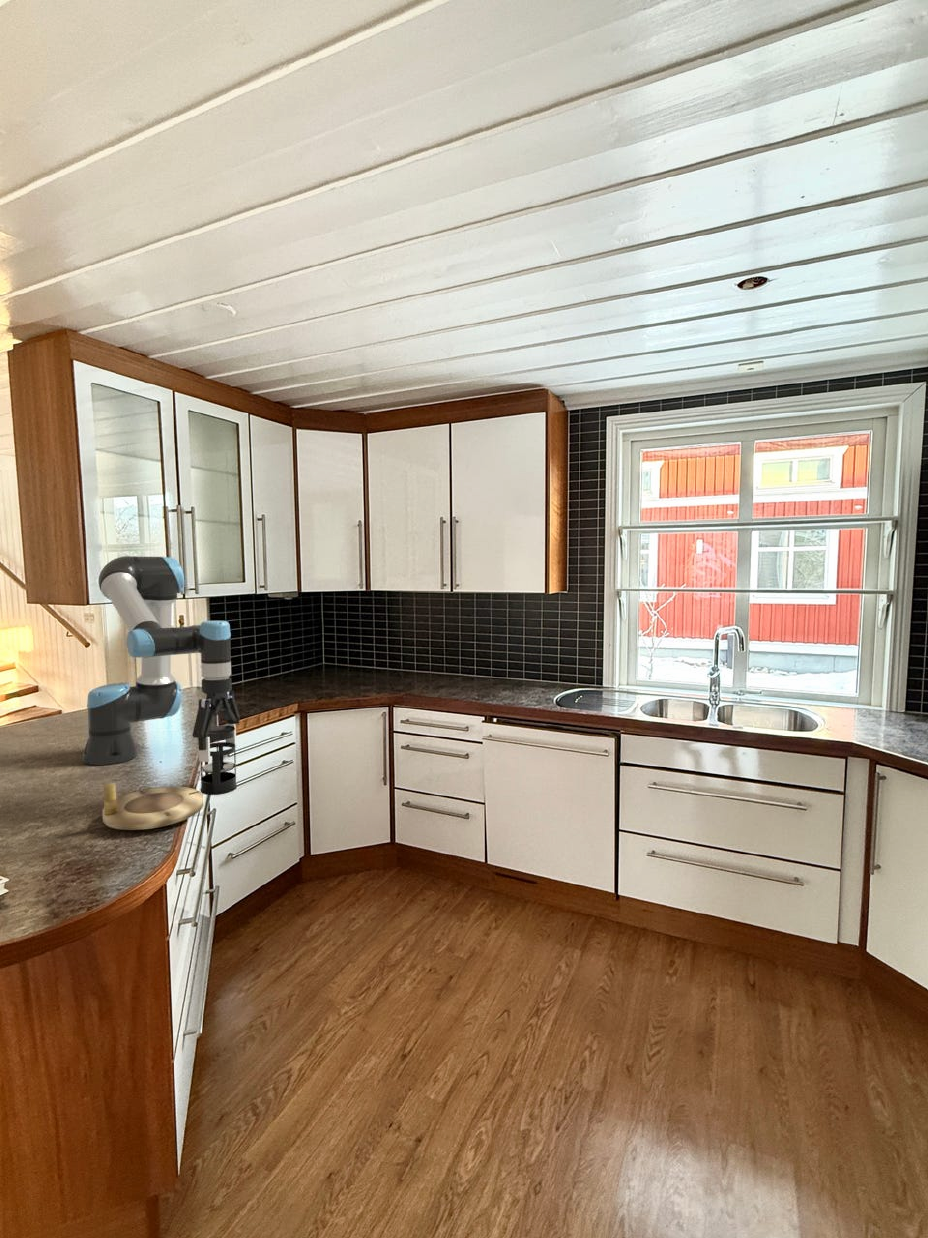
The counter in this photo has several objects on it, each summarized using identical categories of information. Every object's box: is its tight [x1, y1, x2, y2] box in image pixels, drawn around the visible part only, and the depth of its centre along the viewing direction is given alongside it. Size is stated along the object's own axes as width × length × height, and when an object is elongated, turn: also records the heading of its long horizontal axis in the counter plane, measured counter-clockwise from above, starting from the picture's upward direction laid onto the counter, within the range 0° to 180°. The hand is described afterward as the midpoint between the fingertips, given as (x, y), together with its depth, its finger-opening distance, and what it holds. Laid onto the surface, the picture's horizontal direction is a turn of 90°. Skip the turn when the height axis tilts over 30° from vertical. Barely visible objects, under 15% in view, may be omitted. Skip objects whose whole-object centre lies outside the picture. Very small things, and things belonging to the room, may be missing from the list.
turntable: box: [102, 782, 204, 831], centre depth 147 cm, size 22×22×9 cm
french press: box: [199, 707, 238, 796], centre depth 165 cm, size 12×9×23 cm
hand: (218, 754), depth 165 cm, fingers open, 13 cm apart
